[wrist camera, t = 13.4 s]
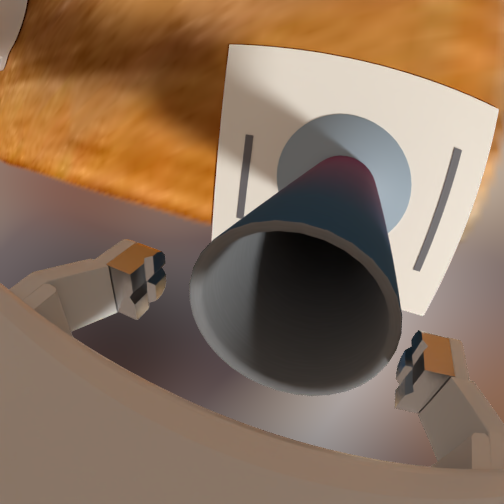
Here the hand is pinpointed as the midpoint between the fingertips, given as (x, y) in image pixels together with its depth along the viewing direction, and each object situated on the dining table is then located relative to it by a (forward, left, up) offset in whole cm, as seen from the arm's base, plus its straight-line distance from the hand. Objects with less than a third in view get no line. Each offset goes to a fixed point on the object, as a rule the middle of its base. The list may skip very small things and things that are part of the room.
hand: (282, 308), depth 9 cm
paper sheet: (0, 0, -15) cm, 15 cm away
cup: (0, -1, -15) cm, 15 cm away
